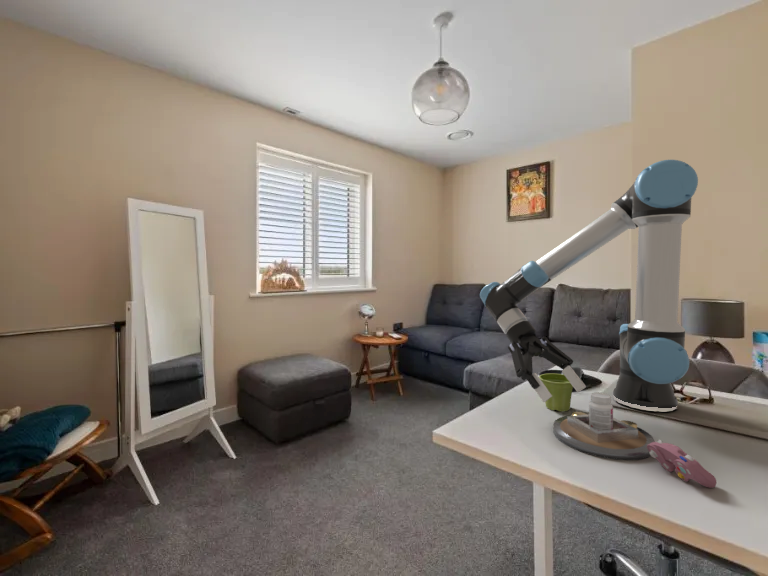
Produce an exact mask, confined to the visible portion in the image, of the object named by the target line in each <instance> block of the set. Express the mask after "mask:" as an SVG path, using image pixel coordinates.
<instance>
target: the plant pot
mask: <svg viewBox="0 0 768 576" xmlns="http://www.w3.org/2000/svg"><path fill="white" fill-rule="evenodd" d="M538 377H539V378H540V379H541V381H542V382H543V384H544V385H545V386H546V388H547V389H548V391H549V392H550V394H551V395H552V397H551V398H549V399H548V400H547V401H546V402H544V404H545V407H546V408H547V409H548V410H550V411H555V410H556V411H558V412H568V411H570V408H571V400H572V395H573V394H572V393H573V389H574V387H573V386H572V385H571V383H570V382H569V381H568V379H567V378H566V377H565V375H564V374H563V373H544V374H540V375H538Z"/></svg>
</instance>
